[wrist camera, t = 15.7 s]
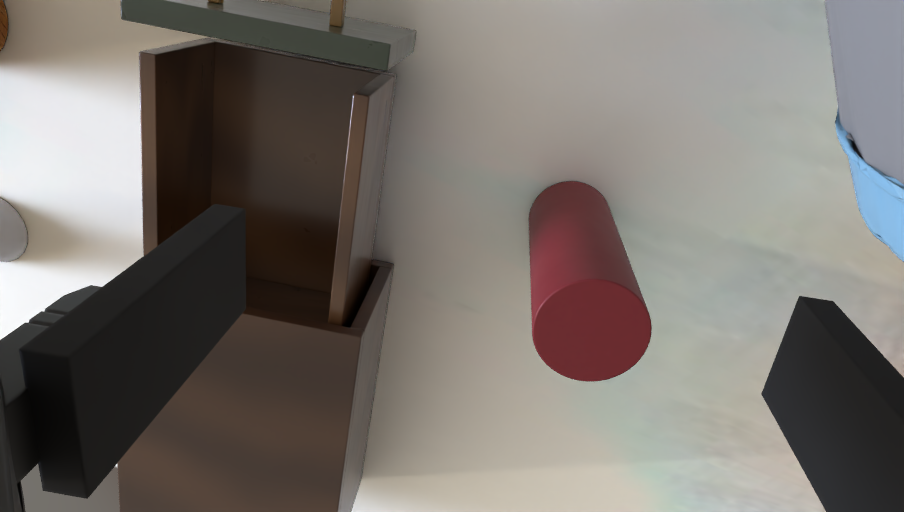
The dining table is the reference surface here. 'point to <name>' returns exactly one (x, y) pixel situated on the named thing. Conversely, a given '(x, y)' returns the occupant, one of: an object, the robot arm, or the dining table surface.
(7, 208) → the chalice
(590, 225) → the candle
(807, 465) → the robot arm
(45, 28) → the dining table surface
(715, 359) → the dining table surface
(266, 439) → the cabinet
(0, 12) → the disposable coffee cup
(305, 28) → the drawer
